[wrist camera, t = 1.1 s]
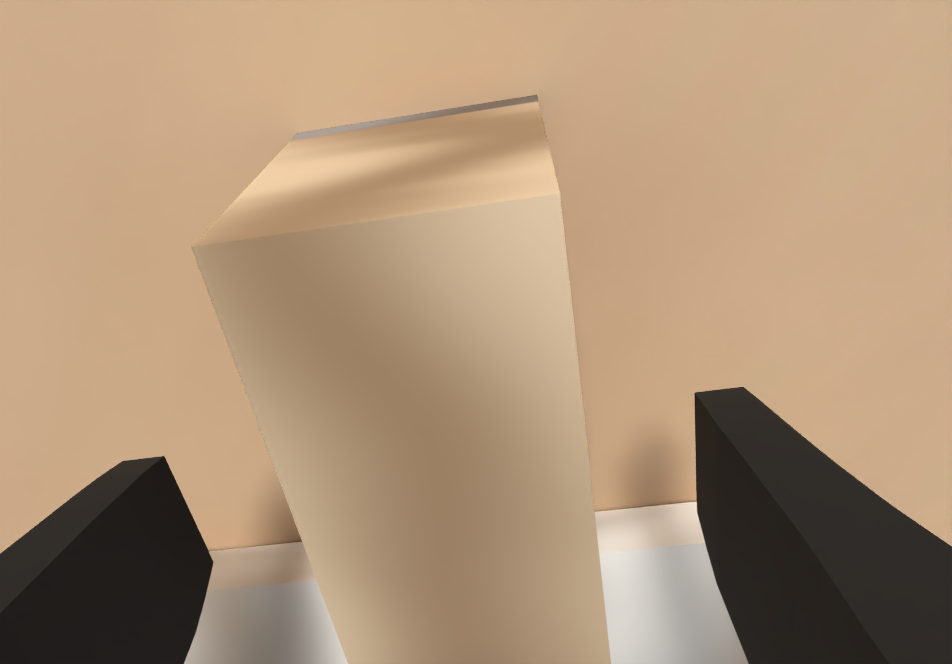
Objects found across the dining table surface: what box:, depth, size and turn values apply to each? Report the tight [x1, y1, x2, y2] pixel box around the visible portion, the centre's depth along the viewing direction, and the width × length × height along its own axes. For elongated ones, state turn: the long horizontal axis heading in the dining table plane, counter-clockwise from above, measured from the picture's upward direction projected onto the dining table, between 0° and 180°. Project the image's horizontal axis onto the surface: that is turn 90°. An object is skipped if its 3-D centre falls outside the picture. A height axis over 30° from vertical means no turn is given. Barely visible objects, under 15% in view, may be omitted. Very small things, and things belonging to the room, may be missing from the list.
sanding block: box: [191, 95, 611, 664], centre depth 12 cm, size 4×8×5 cm, turn 9°
